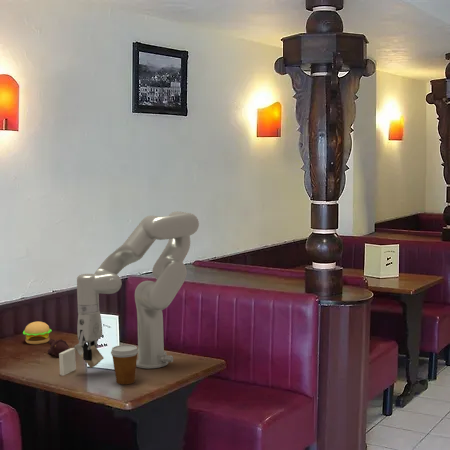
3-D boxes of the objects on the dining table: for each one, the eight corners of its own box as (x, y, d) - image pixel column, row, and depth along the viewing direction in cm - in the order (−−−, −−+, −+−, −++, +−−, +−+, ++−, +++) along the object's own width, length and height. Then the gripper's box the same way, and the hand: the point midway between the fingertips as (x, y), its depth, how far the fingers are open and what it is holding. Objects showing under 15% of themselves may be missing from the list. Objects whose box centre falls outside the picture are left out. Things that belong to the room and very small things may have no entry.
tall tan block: (95, 365, 259) (104, 357, 257) (90, 368, 255) (99, 360, 253) (79, 343, 260) (88, 335, 259) (73, 346, 257) (82, 338, 255)
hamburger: (51, 344, 303) (51, 324, 302) (22, 346, 300) (21, 326, 299) (52, 337, 314) (51, 318, 313) (23, 339, 311) (22, 320, 311)
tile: (75, 369, 264) (75, 348, 264) (63, 375, 257) (62, 353, 256) (71, 369, 265) (71, 347, 264) (59, 375, 258) (58, 353, 257)
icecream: (79, 341, 281) (57, 338, 291) (63, 340, 275) (42, 337, 286) (77, 358, 280) (55, 355, 290) (61, 358, 274) (40, 355, 285)
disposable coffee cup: (134, 386, 243) (133, 352, 241) (108, 385, 244) (106, 351, 243) (142, 378, 252) (141, 344, 251) (117, 377, 254) (115, 344, 252)
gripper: (85, 313, 246) (87, 365, 248) (109, 304, 262) (110, 353, 263) (66, 312, 249) (68, 364, 251) (91, 303, 264) (92, 352, 266)
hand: (90, 358), depth 257 cm, fingers closed on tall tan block, 2 cm apart
